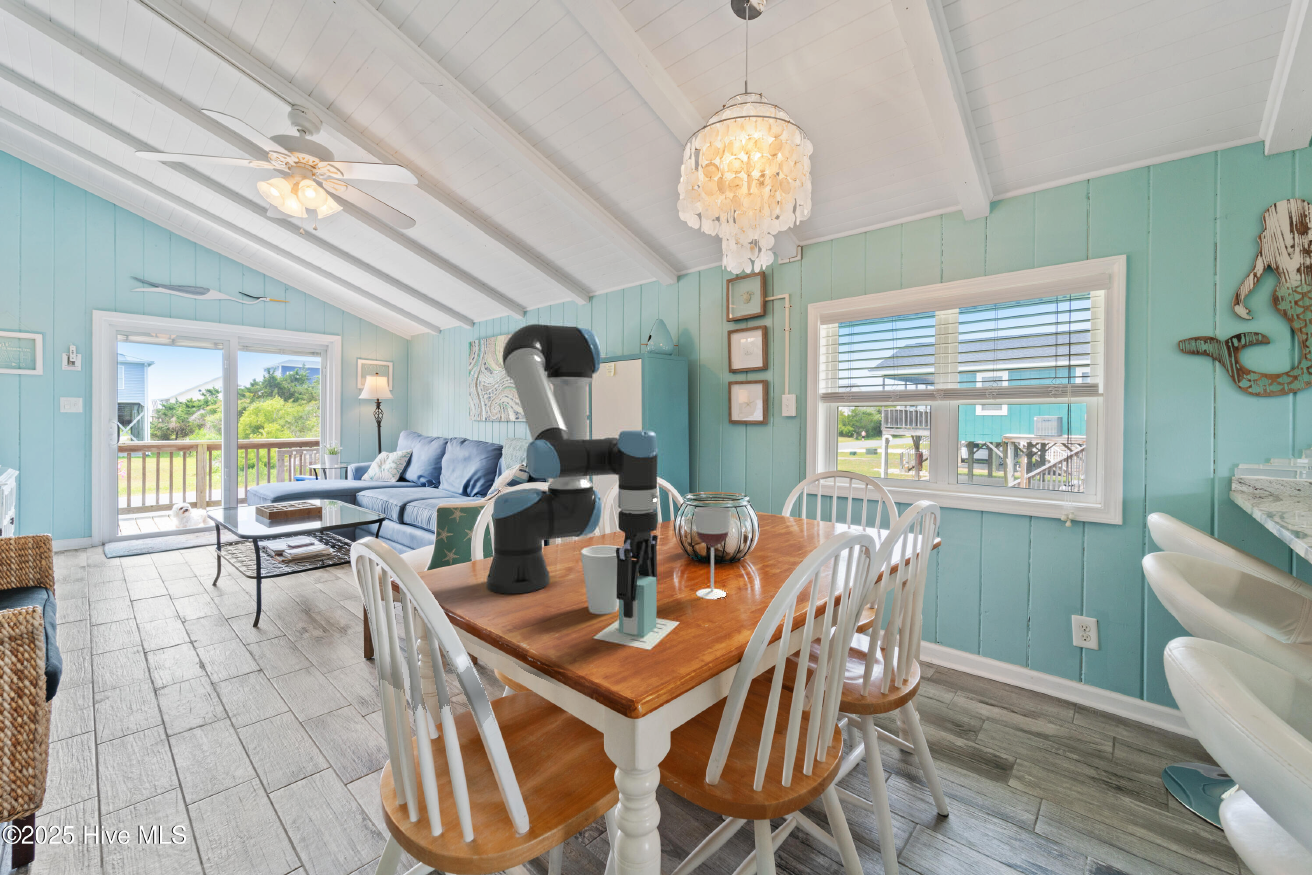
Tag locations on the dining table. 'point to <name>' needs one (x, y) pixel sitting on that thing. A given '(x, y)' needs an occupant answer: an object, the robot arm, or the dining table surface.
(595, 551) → the foam cup
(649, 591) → the block
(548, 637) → the dining table surface
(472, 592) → the dining table surface
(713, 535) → the wineglass
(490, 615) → the dining table surface
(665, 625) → the letter
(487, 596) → the dining table surface
